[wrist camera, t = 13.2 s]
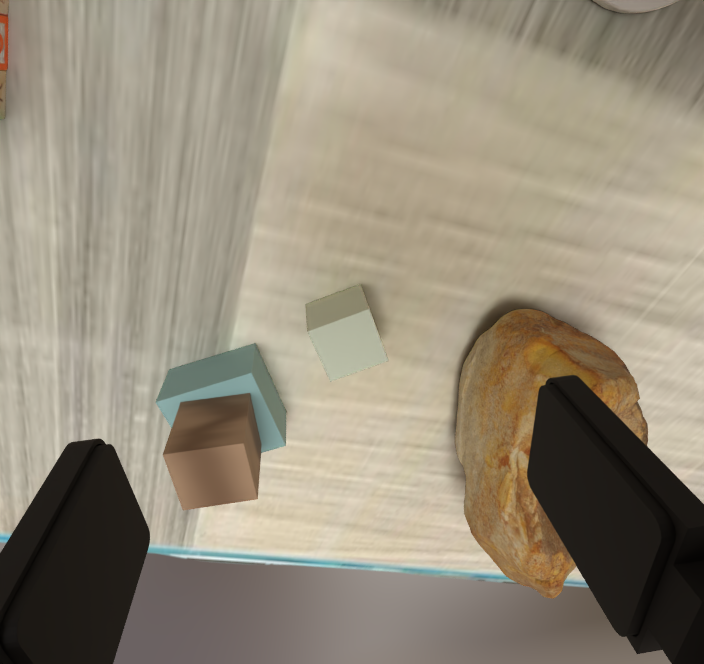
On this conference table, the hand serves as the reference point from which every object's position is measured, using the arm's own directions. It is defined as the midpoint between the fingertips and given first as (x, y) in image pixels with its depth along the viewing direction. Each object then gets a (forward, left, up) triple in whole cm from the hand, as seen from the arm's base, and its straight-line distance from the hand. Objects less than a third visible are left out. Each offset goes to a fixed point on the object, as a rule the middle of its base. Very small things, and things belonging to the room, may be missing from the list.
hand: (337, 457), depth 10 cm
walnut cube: (+9, +17, -24) cm, 30 cm away
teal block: (+9, +17, -29) cm, 35 cm away
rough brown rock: (-20, +23, -29) cm, 42 cm away
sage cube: (-2, +11, -28) cm, 31 cm away
